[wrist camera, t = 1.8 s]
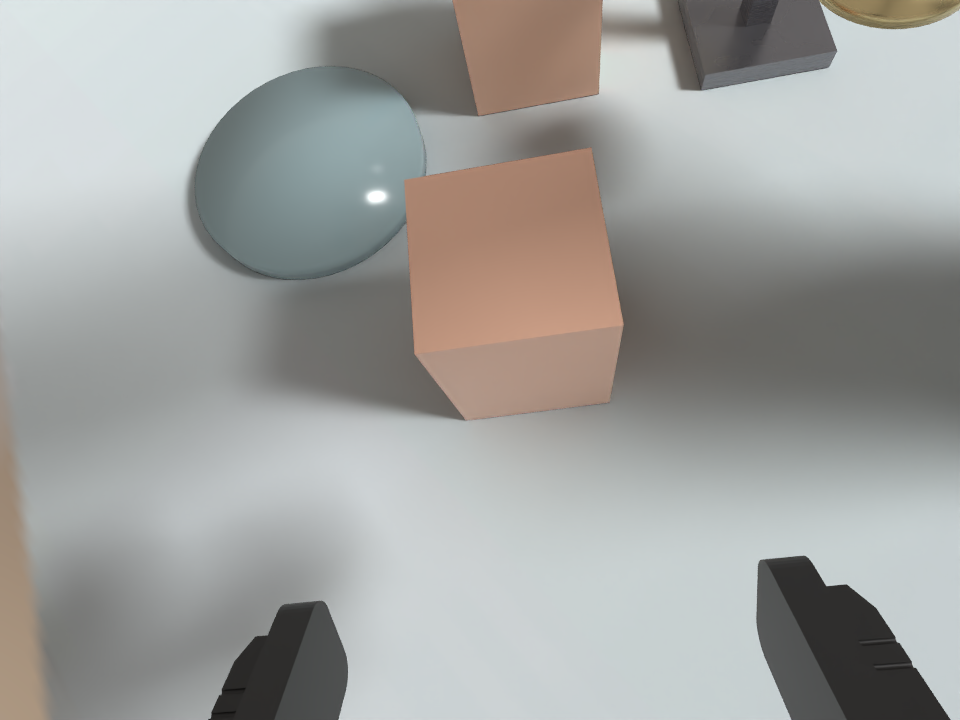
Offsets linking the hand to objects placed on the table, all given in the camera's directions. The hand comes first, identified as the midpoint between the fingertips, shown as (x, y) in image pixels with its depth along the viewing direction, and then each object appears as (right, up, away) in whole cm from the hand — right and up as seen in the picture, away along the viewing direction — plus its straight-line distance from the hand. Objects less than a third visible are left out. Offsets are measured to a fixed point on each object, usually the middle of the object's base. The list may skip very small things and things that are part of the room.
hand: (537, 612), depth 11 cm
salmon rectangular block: (+1, +5, +16) cm, 17 cm away
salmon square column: (+2, +21, +21) cm, 30 cm away
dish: (-10, +14, +21) cm, 27 cm away
